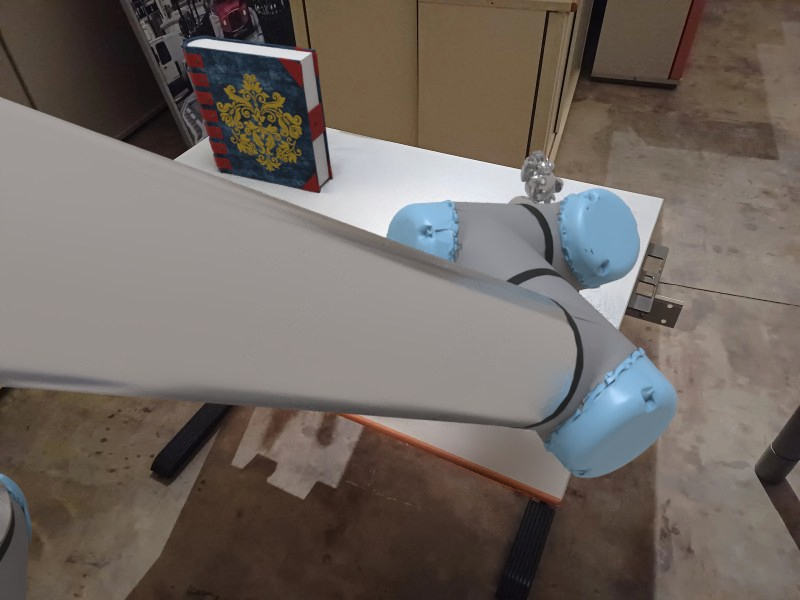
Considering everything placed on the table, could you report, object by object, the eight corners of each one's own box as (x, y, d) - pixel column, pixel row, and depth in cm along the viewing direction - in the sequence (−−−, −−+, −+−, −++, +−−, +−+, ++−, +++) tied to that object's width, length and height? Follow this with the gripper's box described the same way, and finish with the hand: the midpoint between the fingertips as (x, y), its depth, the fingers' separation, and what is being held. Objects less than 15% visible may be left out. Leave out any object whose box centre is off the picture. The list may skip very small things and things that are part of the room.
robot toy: (525, 271, 88) (538, 190, 77) (490, 257, 90) (499, 177, 80) (563, 225, 96) (580, 146, 86) (531, 214, 99) (543, 136, 89)
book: (210, 171, 113) (172, 45, 96) (230, 155, 118) (197, 32, 101) (317, 194, 106) (297, 62, 88) (334, 176, 110) (318, 48, 93)
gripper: (421, 373, 49) (335, 381, 68) (581, 251, 61) (471, 286, 80) (379, 301, 49) (304, 329, 67) (549, 191, 61) (446, 241, 79)
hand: (395, 306), depth 74 cm, fingers open, 13 cm apart
